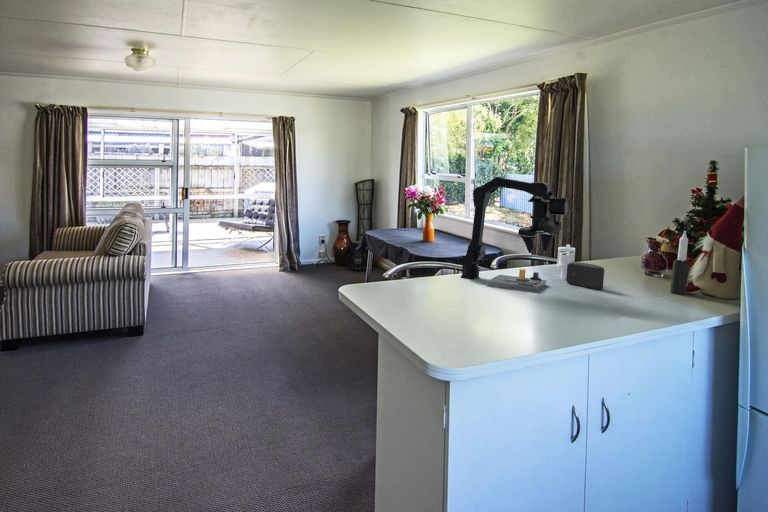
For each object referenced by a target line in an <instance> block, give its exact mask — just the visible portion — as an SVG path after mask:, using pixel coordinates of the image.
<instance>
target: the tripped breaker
mask: <svg viewBox="0 0 768 512" xmlns="http://www.w3.org/2000/svg"><path fill="white" fill-rule="evenodd" d="M526 271H527V270H526V269H525V268H519V271H518V277H519V278H517V279H516V280H517V281H525V282H527V281H528V279H525V278H526Z"/></svg>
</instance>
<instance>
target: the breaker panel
mask: <svg viewBox="0 0 768 512" xmlns="http://www.w3.org/2000/svg"><path fill="white" fill-rule="evenodd" d="M539 276H540V273H539V272H536V271H534V272H533V273H532V276H531V277H525V279H528V281H527V282H525V281H517V280H516V279H517V278H519V276H515V275H514V276H513V275H506V274H498V275H496V276H494V277H492V278H490V279H488V280H486V287H492V288H499V289H508V290H516V291H521V292H522V291H523V292H531V293H538V292H539V291H540V290H541V289H542V288H544V287H545V286H547V280H546V279H542V278H541V277H539Z"/></svg>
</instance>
